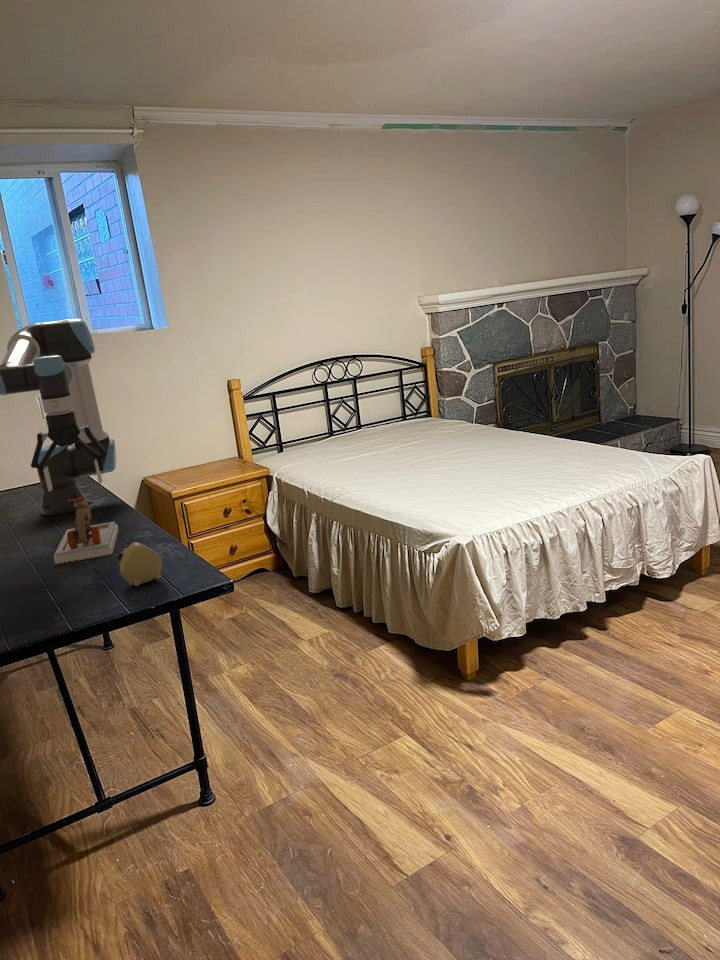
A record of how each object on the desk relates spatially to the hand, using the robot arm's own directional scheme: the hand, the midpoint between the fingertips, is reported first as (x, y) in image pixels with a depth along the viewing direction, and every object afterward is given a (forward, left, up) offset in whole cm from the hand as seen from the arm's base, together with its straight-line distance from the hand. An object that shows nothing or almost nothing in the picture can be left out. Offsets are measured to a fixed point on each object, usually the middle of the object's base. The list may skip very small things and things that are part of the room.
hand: (75, 486), depth 199 cm
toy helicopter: (0, 0, -16) cm, 16 cm away
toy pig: (+39, +17, -18) cm, 47 cm away
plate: (0, 0, -18) cm, 18 cm away
